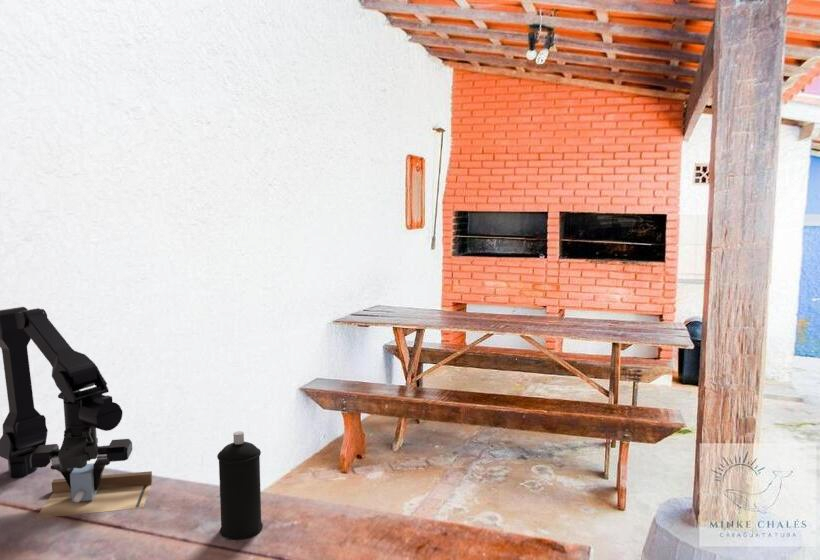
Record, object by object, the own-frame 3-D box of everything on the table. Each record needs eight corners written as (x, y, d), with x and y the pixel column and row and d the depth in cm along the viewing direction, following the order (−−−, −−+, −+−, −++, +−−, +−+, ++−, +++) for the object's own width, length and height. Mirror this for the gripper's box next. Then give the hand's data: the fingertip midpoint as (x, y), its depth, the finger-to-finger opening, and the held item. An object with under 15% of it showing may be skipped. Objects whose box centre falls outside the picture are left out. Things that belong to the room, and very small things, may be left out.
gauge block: (78, 490, 139) (76, 464, 139) (98, 489, 140) (96, 463, 139) (66, 510, 131) (64, 482, 130) (88, 508, 132) (86, 480, 131)
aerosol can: (253, 542, 123) (250, 442, 120) (212, 538, 125) (208, 439, 122) (269, 520, 131) (266, 426, 128) (230, 516, 133) (227, 423, 130)
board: (54, 496, 140) (53, 479, 140) (152, 488, 145) (151, 471, 144) (36, 524, 129) (34, 506, 128) (143, 514, 133) (142, 496, 133)
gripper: (16, 438, 125) (23, 514, 128) (119, 431, 129) (124, 504, 132) (36, 418, 136) (41, 488, 138) (130, 412, 140) (134, 480, 142)
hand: (85, 490), depth 137 cm, fingers closed on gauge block, 4 cm apart
